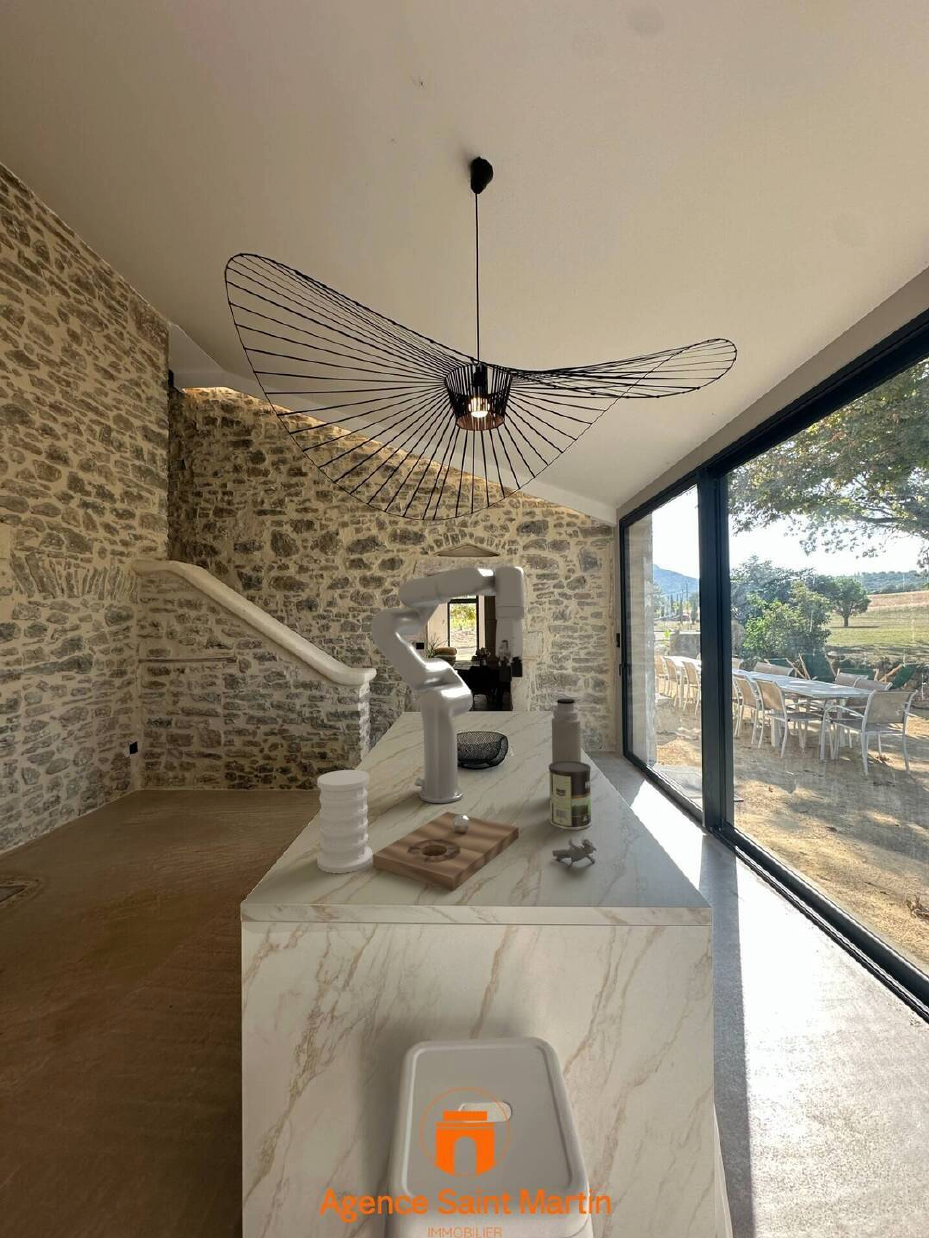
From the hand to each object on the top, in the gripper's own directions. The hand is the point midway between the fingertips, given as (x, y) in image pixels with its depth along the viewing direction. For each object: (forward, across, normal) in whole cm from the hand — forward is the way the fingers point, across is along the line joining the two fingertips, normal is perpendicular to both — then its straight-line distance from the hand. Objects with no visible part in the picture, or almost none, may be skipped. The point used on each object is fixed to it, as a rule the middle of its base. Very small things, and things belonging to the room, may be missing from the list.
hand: (511, 679), depth 142 cm
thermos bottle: (+35, -16, +11) cm, 40 cm away
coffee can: (+36, +1, +15) cm, 39 cm away
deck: (+35, +26, -7) cm, 45 cm away
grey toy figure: (+36, +24, +20) cm, 47 cm away
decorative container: (+35, +38, -26) cm, 58 cm away
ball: (+31, +22, -6) cm, 38 cm away
